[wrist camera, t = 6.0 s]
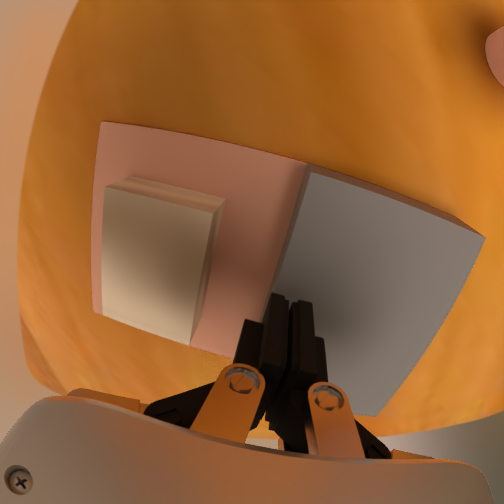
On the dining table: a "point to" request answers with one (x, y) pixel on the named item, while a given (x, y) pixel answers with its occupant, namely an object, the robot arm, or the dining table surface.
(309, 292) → the plate
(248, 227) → the mat
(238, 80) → the dining table surface
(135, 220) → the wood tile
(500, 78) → the smoothie
